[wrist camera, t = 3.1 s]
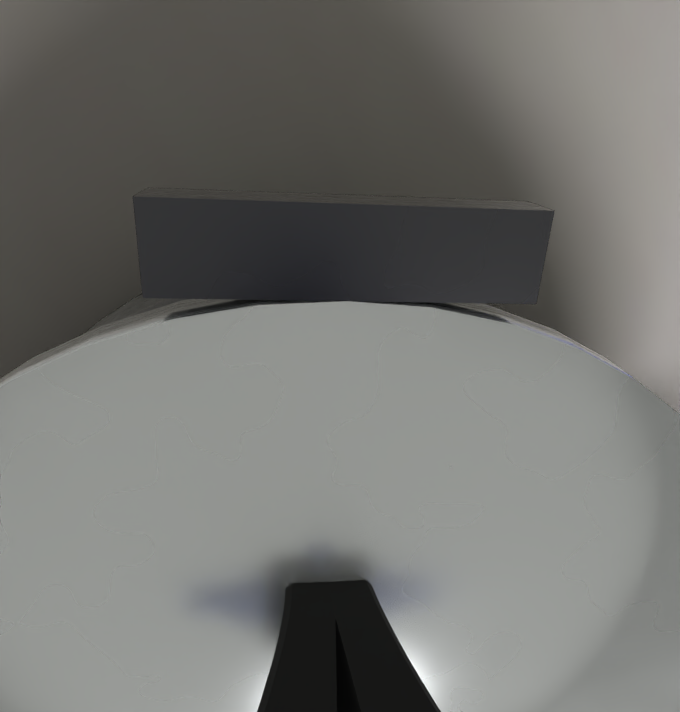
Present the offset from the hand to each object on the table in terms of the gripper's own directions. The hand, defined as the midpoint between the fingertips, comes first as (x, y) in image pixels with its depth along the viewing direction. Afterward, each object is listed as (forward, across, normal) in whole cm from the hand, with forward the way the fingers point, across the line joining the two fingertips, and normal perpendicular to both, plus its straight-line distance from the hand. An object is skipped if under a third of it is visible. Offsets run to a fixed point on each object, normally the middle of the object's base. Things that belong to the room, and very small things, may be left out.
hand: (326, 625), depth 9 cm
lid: (+1, 0, +2) cm, 2 cm away
